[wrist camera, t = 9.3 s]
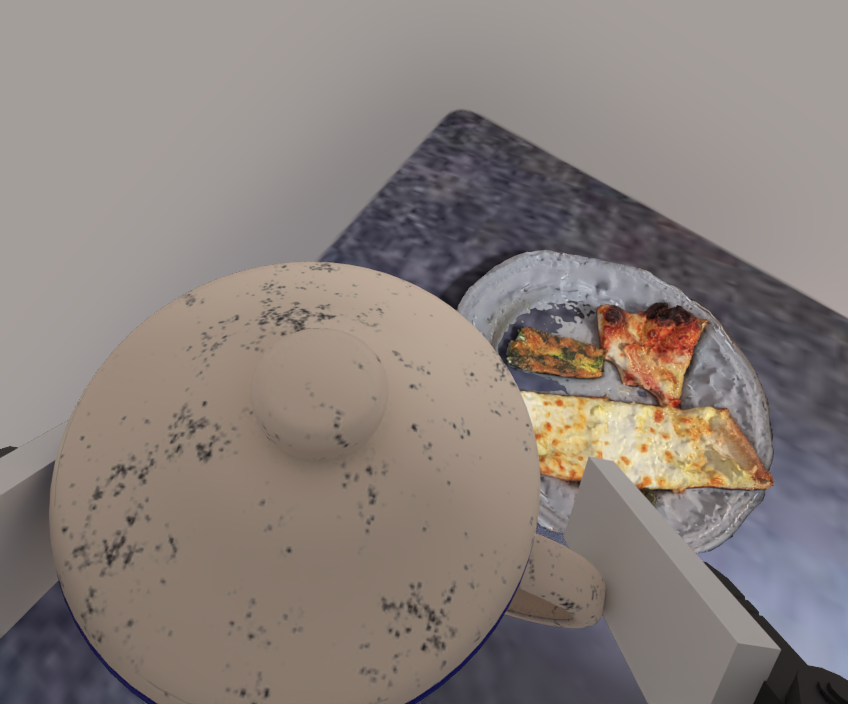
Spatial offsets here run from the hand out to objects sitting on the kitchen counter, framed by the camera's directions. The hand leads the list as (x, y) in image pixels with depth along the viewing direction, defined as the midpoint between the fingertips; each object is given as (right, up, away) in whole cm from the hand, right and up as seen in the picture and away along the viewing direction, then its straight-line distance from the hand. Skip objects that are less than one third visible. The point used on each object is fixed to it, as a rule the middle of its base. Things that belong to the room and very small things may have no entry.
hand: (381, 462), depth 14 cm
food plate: (+15, 0, +24) cm, 28 cm away
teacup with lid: (-1, -4, +3) cm, 5 cm away
